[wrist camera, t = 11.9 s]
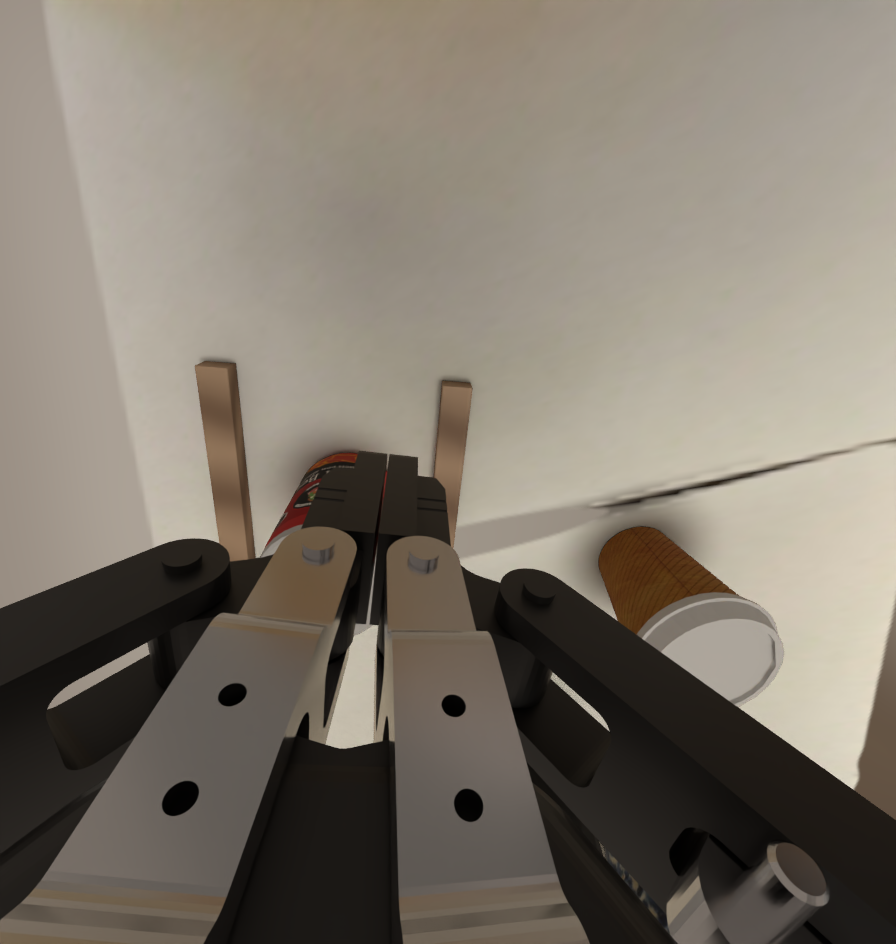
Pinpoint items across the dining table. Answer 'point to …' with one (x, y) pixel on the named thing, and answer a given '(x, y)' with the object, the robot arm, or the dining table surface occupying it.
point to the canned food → (302, 503)
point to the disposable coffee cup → (690, 614)
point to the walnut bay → (230, 461)
